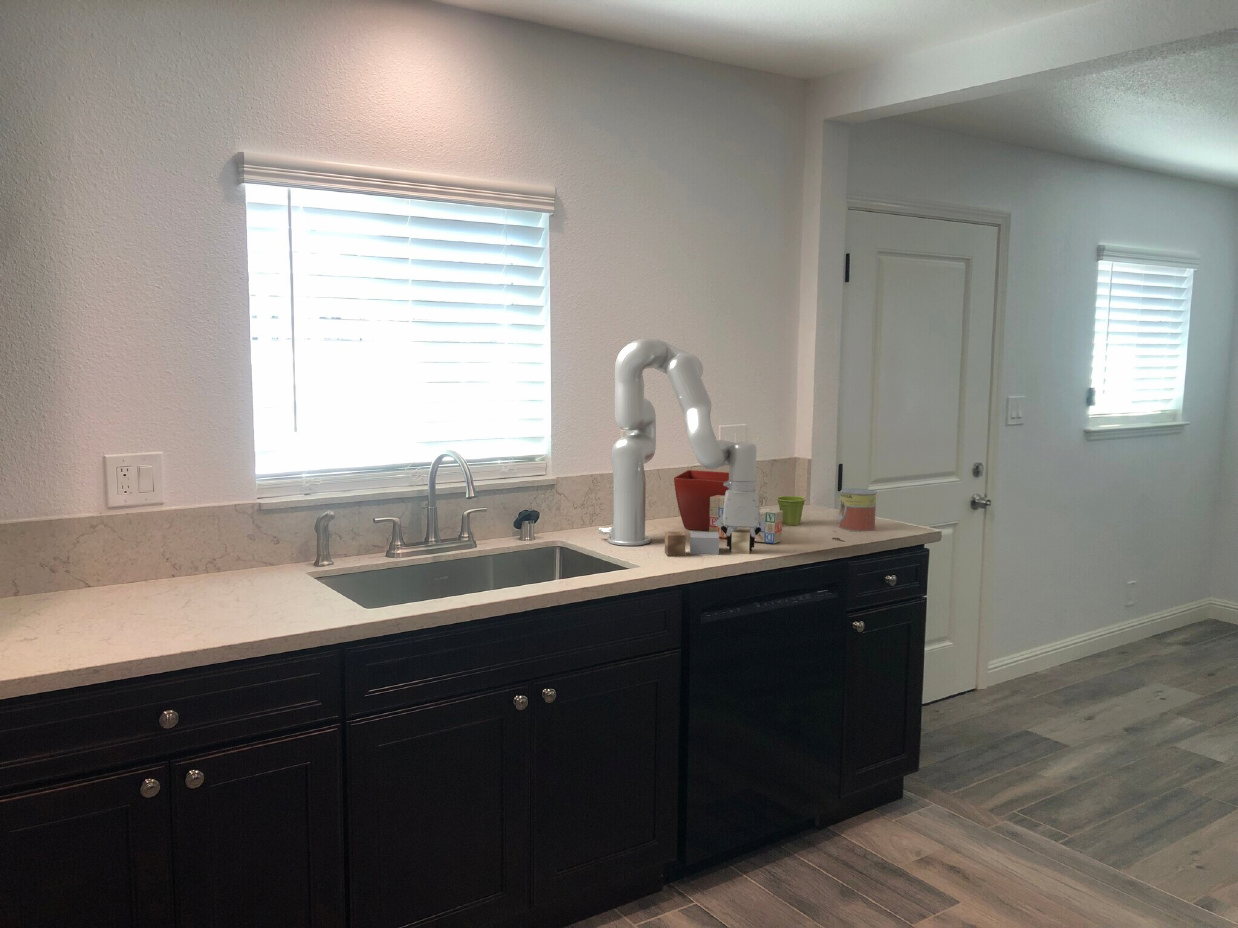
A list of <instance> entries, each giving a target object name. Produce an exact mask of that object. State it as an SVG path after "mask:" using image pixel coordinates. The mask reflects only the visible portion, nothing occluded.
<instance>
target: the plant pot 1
mask: <svg viewBox="0 0 1238 928" xmlns="http://www.w3.org/2000/svg"><path fill="white" fill-rule="evenodd" d="M726 481H729V471H728V472H725V471H712V470H711V471H710V470H695V469H688V470H687V469H686V471H683V472H682V473H680V474H678V475H676V476H674V477H673V485H674V490H675V499H676V503H677V506H678V511H679V514H680V518H681V521H682V525H683V527H684V529H687V530H697V531H698V530H699V531H706V532H709V526H710V525H709V523H710V497H712V496H716V495H723V496H725V493H726V491H727V490H729V488H728V487H726V486H724V482H726Z"/></svg>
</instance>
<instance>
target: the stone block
mask: <svg viewBox="0 0 1238 928" xmlns="http://www.w3.org/2000/svg"><path fill="white" fill-rule="evenodd" d="M689 539H690V540H689V543H690V544H689V554H690V555H707V556H708V555H709V556H710V555H712V556H717V555H718V556H719V554H720V537H719V532H709V531H690V538H689Z"/></svg>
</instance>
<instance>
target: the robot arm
mask: <svg viewBox="0 0 1238 928" xmlns="http://www.w3.org/2000/svg"><path fill="white" fill-rule="evenodd" d="M646 369H655V370H657V371H660V372H662V373H664V374H666V375H667V378H668V380H669V383H670V384H671V387H672V390H673V391H674V394H675V397H676V399H677V401H678V403H679V406H680V408H681V411H682V414H683V421H684V424H685V430H686V435H687V439H688V441H689V445H690V446H691V449H692V451H693V453H694V456H695V458H696V460H697V461H698V463H699V464H700V465H701V466H702V467H703V468H705V469H707V470H716V469H718V468H720V467H723V466H728V473H729V481H726V482H724V486H726V487H728V488H729V490H727V491H726V493H725V498H724V509H723V514H722V515H721V516H720V517H719V518H718V520H717V521H716V522H715V525H717V526H718V527H719V528H720V529H721V530H722V531H723V532H724V533H725V534H726V535H727V538H726V547H728V550H729V551H731V545H732V533H731V531H732V528H733V527H749V529H750V532H751V534H750V544H749V552H752V551H753V549H754V548H755V541H754V540H755V536H756V535H757V534H758V533H759V532H760V531H761V530H763V529H764V528H766V527H767V523H766V522H765V520H764V519H763V518H762V516H761V515H760V497H759V496H760V495H759V490H758V491H757V490H756V486H757V485H756V483H757V481H756V479H757V475H756V474H757V445H756V444H755V443H753V442H750V441H749V442H748V441H747V442H746V441H744V442H743V441H735V442H734V441H729V440H722V439H717V438H716V435H715V432H714V430H713V426H712V422H711V412H712V401H711V398H710V396H709V394H708V391H707V389H706V387H705V384H704V382H703V379H702V377H703V374H704V364H703V363H702V361H701V360H700V358H699V357H698V356H696V355H694V354H692V353H689V352H688V351H685V350H683V349H681V348H679V347H676V346H675V345H673V344H671V343H668V342H666V341H664V340H660V339H654V338H639V339H636V340H633V341H631V342H629V343H628V344H626V345H625V346H624V347H623V348H622V349H621V350H620V351H619V353H618V354H617V357H616V360H615V364H614V421H615V423H616V425H617V427H618V428H620V429H621V430H623V431H625V436H622V437H620V438H619V439H617V440H616V441H615V443H614V444H613V446H612V448H611V453H610V454H611V455H610V457H611V459H610V460H611V465H612V478H613V487H612V488H613V489H612V490H613V492H612V493H613V497H612V498H613V504H612V505H613V513H612V515H613V516H612V517H613V518H612V519H613V520H612V523H613V524H612V526H609V527H606V526H599V527H598V534H601V535H608V537H607V542H608V543H609V544H612V545H617V546H628V547H630V546H631V547H634V546H636V547H637V546H643V545H647V544H649V543H650V542H651V537H650V536H648V535H646V497H647V495H646V494H647V493H646V491H647V490H646V488H647V485H646V484H647V483H646V472H645V464H648V463H649V462H651V460H652V459H653V457H654V456H655V454H656V449H657V442H656V441H657V415H656V410H655V407H654V405H653V403H652V402H651V401H650V400H649V399H647V398H645V381H644V375H643V372H644V370H646ZM722 521H723V523H724V525H725V526H728V529H727V528H726V527H725V526H724V525H723V524H722V523H721V522H722ZM759 522H760V523H761V525H760V526H759V527H757V526H758V525H759ZM754 527H757V528H756V529H755V528H754Z"/></svg>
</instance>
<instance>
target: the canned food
mask: <svg viewBox="0 0 1238 928" xmlns="http://www.w3.org/2000/svg"><path fill="white" fill-rule="evenodd" d="M839 492H840V497H839V519H838V521H839V523H838V524H839V525H838V528H839V529H840V530H843V531H849V532H859V533H860V532H865V533H866V532H872V531H875V530H876V511H877V509H876V508H877V507H876V506H877V491H876V490H872V489H867V488H844V489H841V490H840V491H839Z"/></svg>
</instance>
